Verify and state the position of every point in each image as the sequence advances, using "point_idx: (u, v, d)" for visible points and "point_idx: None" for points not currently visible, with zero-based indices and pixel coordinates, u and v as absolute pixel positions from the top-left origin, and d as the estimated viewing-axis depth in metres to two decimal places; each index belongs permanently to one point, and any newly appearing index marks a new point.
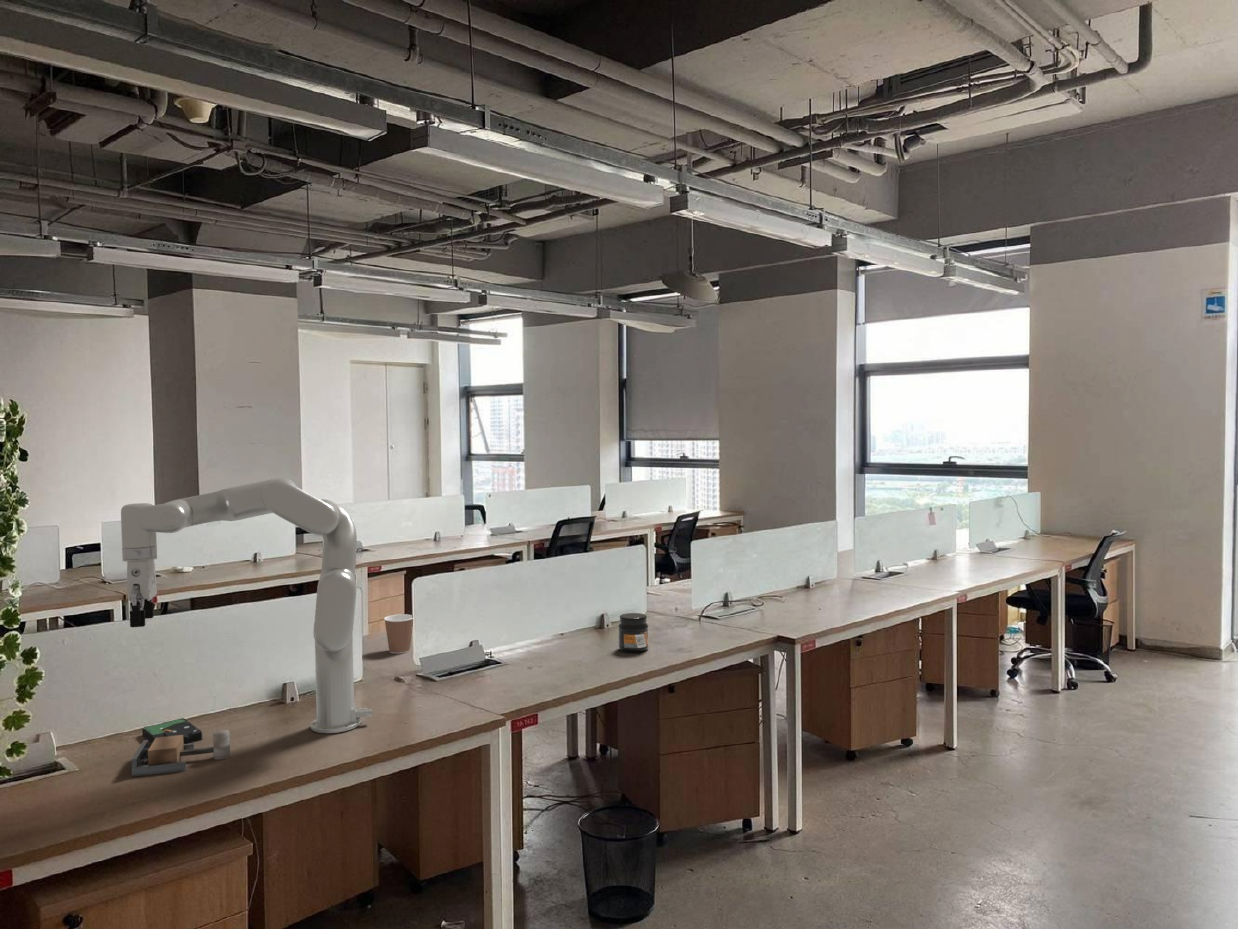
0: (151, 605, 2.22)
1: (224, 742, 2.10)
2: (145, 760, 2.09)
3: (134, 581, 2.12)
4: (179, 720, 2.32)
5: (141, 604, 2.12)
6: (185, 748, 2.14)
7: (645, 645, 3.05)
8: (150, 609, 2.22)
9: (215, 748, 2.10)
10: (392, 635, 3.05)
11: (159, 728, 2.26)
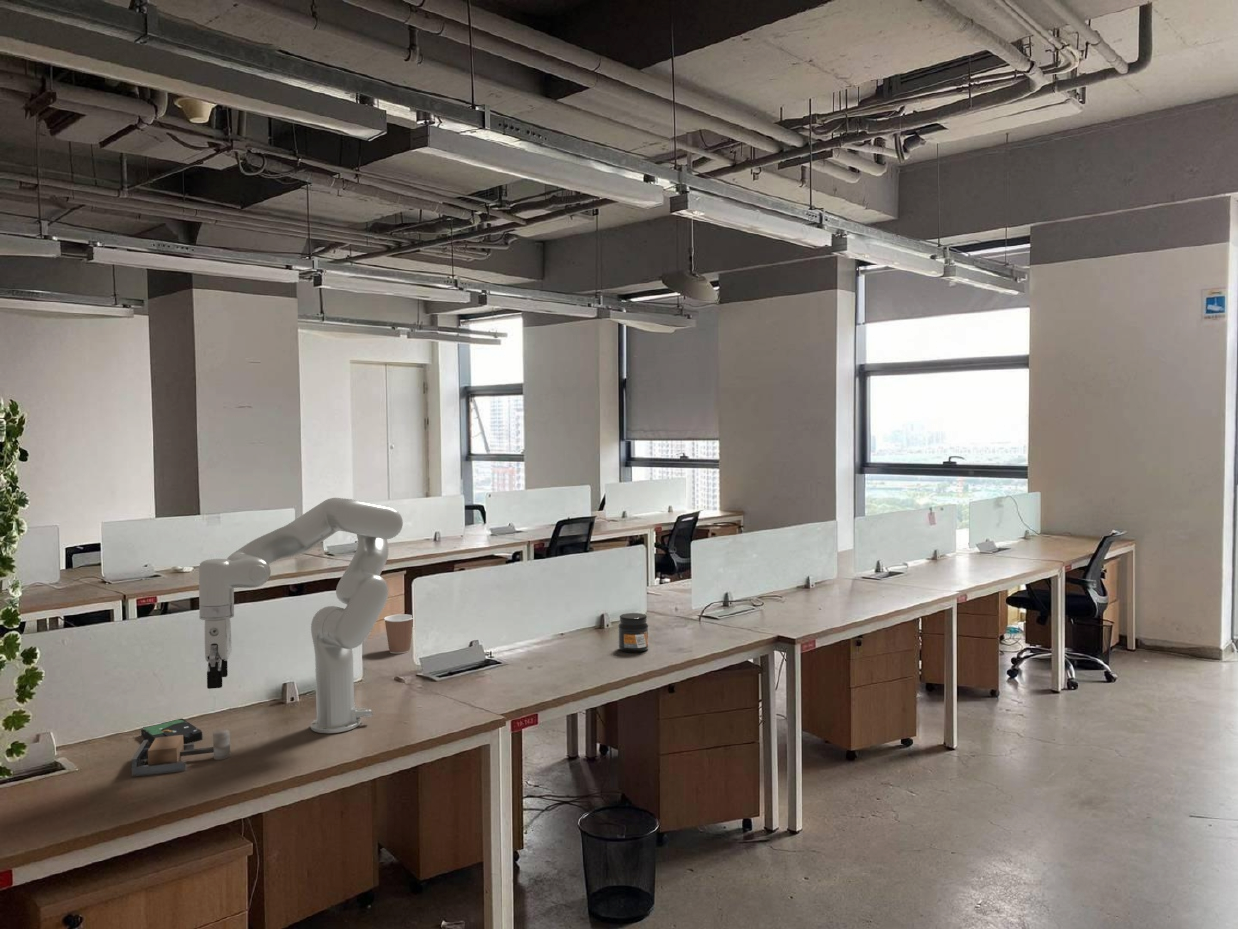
0: (225, 663, 2.15)
1: (224, 742, 2.10)
2: (145, 760, 2.09)
3: (212, 641, 2.05)
4: (178, 720, 2.32)
5: (219, 665, 2.05)
6: (185, 748, 2.14)
7: (645, 645, 3.05)
8: (224, 668, 2.15)
9: (215, 748, 2.10)
10: (392, 635, 3.05)
11: (158, 728, 2.26)
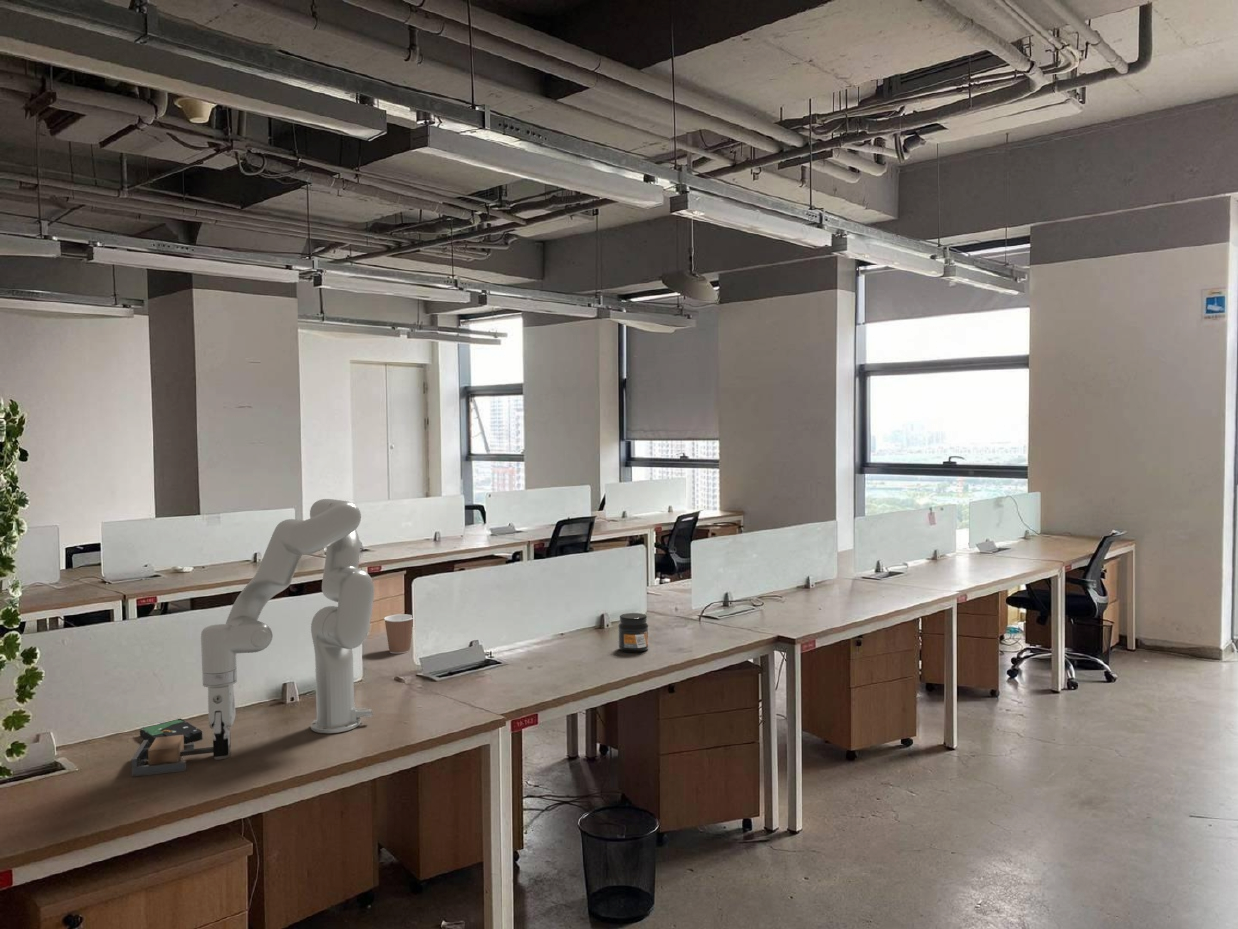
0: None
1: None
2: (145, 760, 2.09)
3: (215, 708, 2.06)
4: (177, 720, 2.32)
5: (224, 734, 2.08)
6: (185, 748, 2.14)
7: (645, 645, 3.05)
8: None
9: None
10: (392, 635, 3.05)
11: (157, 729, 2.26)
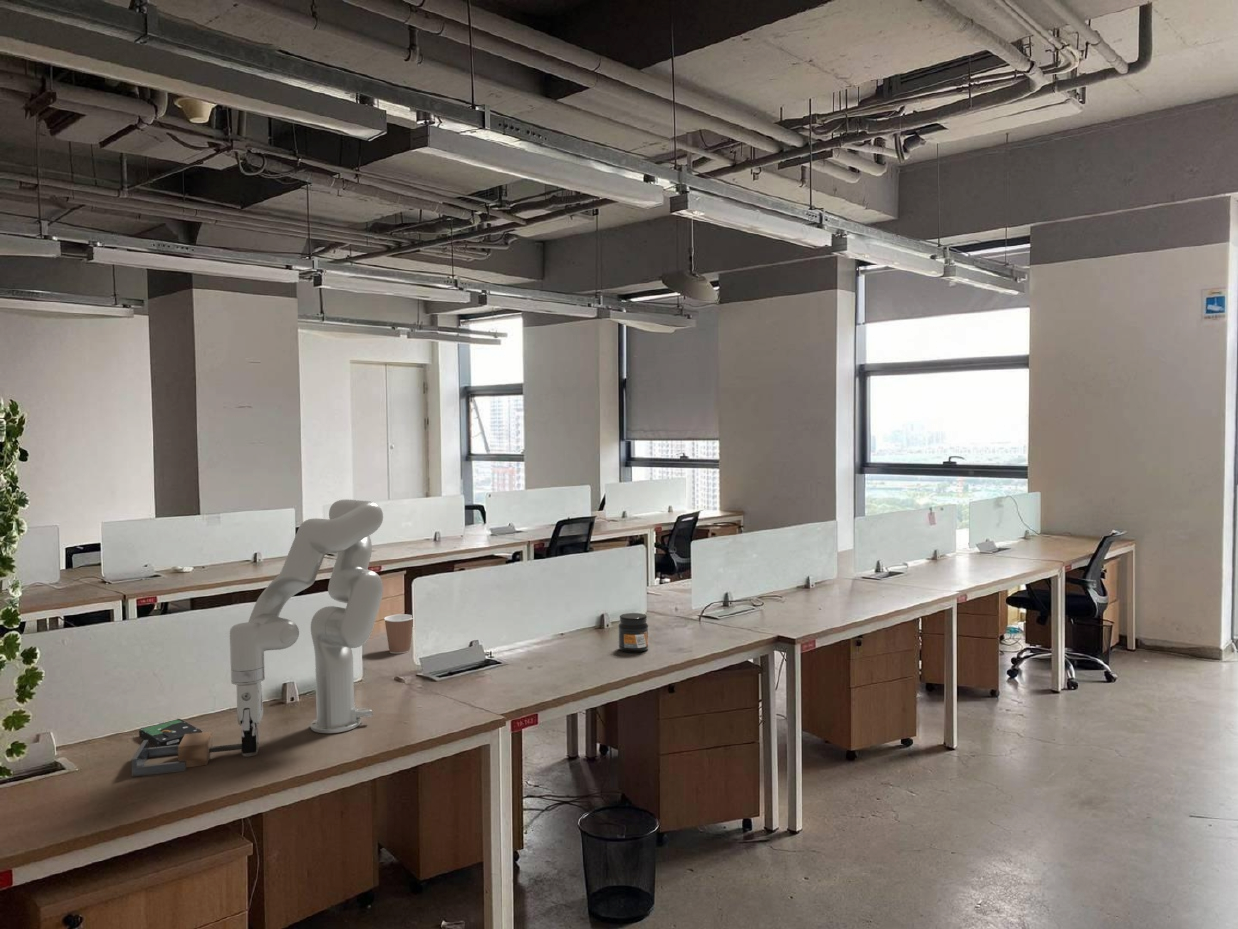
0: None
1: None
2: (145, 760, 2.09)
3: (244, 705, 2.08)
4: (176, 721, 2.32)
5: (253, 731, 2.10)
6: None
7: (645, 645, 3.05)
8: None
9: None
10: (392, 635, 3.05)
11: (157, 729, 2.25)
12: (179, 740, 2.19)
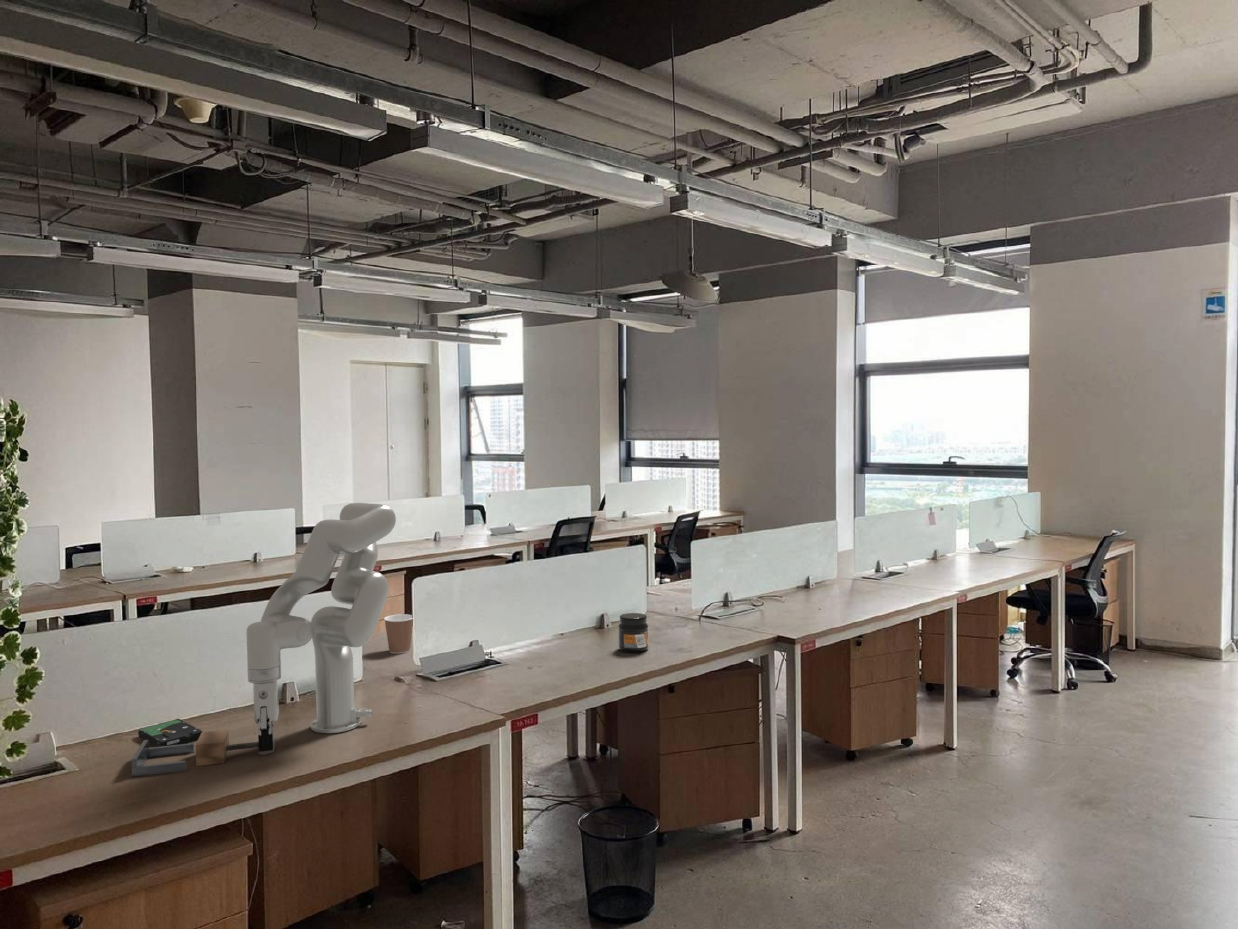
0: None
1: None
2: (145, 760, 2.09)
3: (261, 704, 2.09)
4: (175, 721, 2.32)
5: (269, 730, 2.11)
6: (185, 748, 2.14)
7: (645, 645, 3.05)
8: None
9: None
10: (392, 635, 3.05)
11: (156, 729, 2.25)
12: (179, 740, 2.20)
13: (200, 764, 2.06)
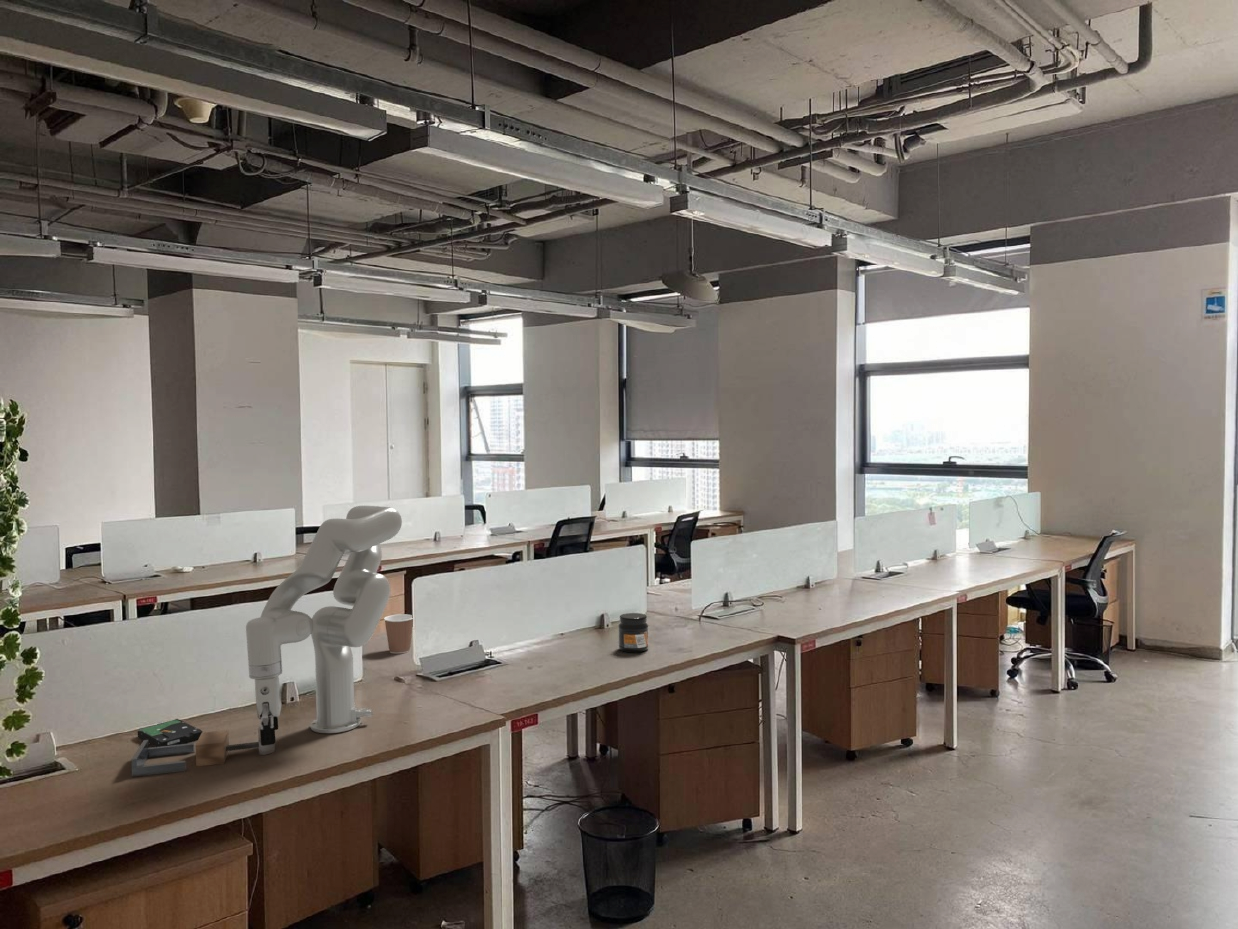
0: (276, 717, 2.20)
1: None
2: (145, 760, 2.09)
3: (263, 700, 2.09)
4: (174, 721, 2.31)
5: (271, 722, 2.10)
6: (185, 748, 2.14)
7: (645, 645, 3.05)
8: (275, 721, 2.19)
9: (260, 743, 2.13)
10: (392, 635, 3.05)
11: (156, 729, 2.25)
12: (180, 740, 2.20)
13: (200, 764, 2.06)
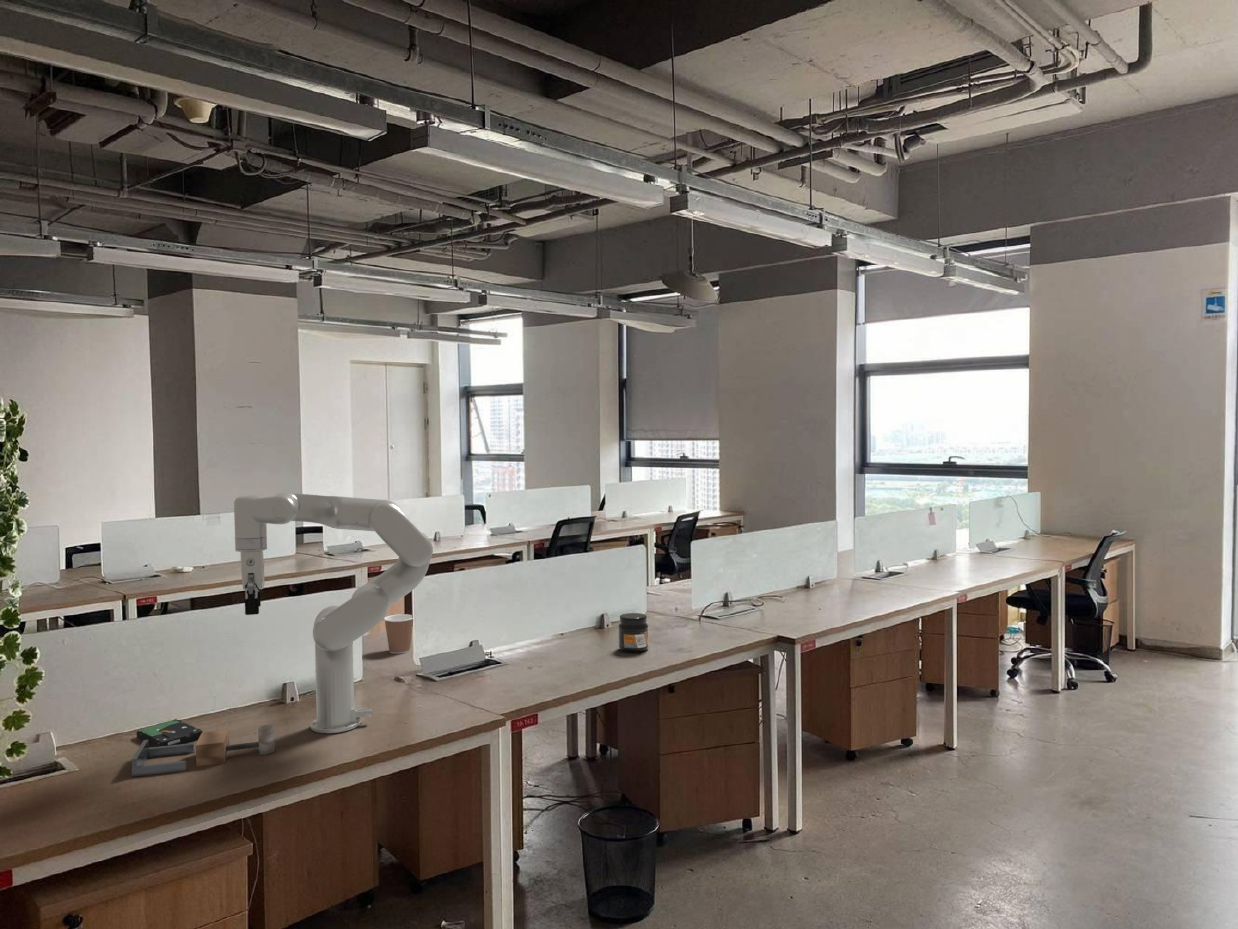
0: (259, 594, 2.30)
1: (269, 737, 2.13)
2: (145, 760, 2.09)
3: (248, 570, 2.20)
4: (173, 721, 2.31)
5: (256, 592, 2.20)
6: (185, 748, 2.14)
7: (645, 645, 3.05)
8: (258, 598, 2.30)
9: (260, 743, 2.13)
10: (392, 635, 3.05)
11: (155, 730, 2.25)
12: (180, 740, 2.20)
13: (200, 764, 2.06)
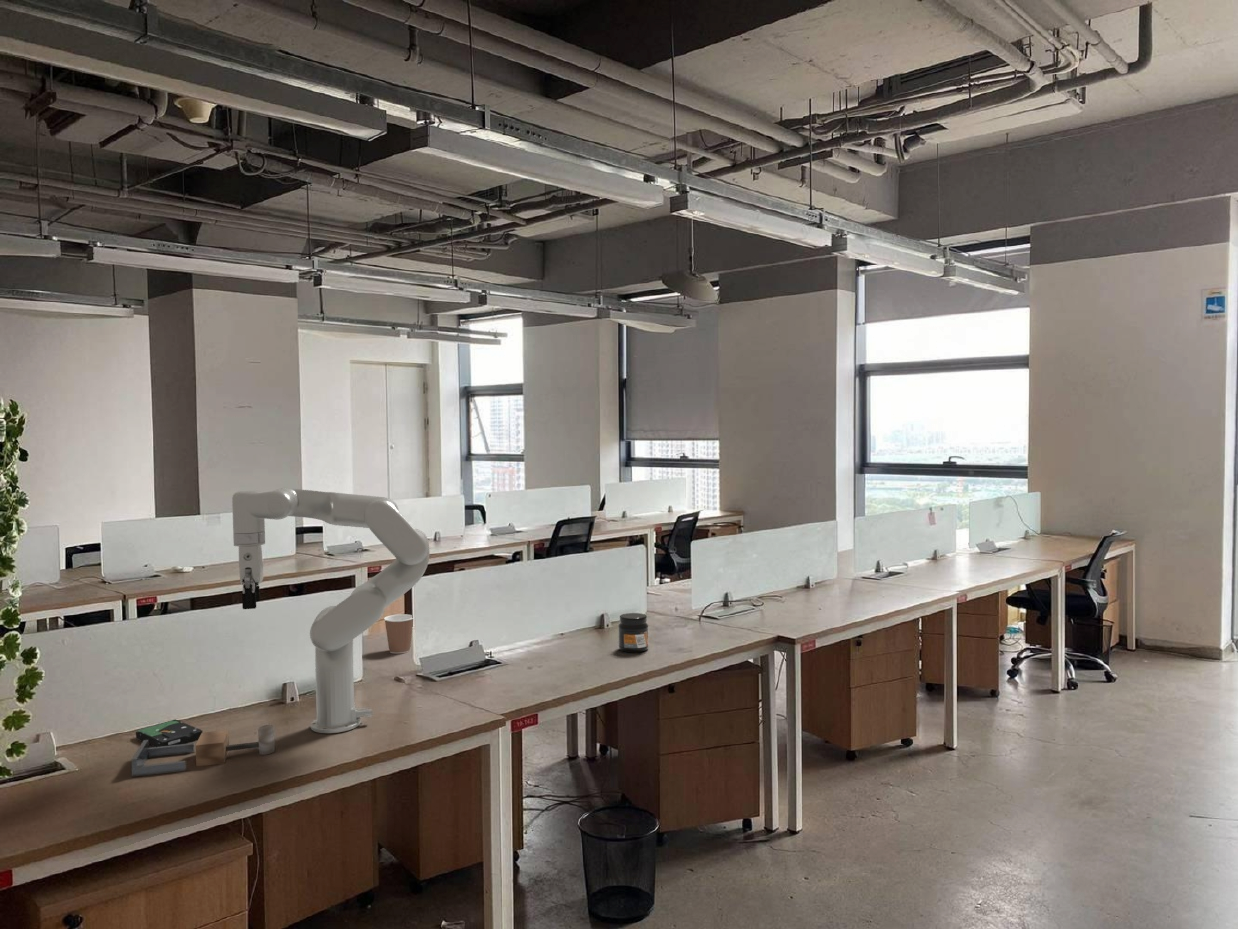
0: (258, 589, 2.31)
1: (269, 737, 2.13)
2: (145, 760, 2.09)
3: (246, 565, 2.22)
4: (172, 721, 2.31)
5: (253, 587, 2.22)
6: (185, 748, 2.14)
7: (645, 645, 3.05)
8: (257, 592, 2.31)
9: (260, 743, 2.13)
10: (392, 635, 3.05)
11: (155, 730, 2.25)
12: (180, 740, 2.20)
13: (200, 764, 2.06)
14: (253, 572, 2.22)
